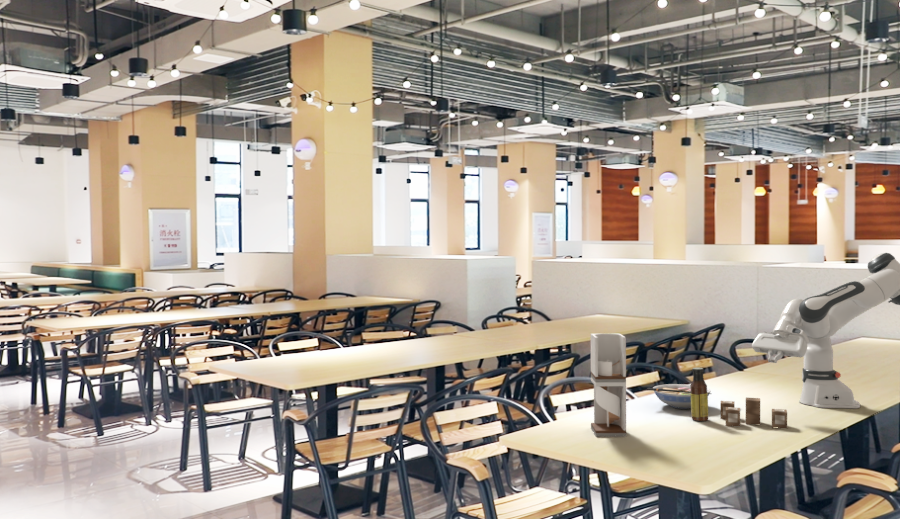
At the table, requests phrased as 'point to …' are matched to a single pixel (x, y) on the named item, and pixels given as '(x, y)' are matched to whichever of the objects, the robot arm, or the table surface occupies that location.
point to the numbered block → (779, 418)
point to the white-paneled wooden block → (732, 416)
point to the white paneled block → (723, 407)
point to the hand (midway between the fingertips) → (771, 361)
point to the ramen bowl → (675, 394)
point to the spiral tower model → (609, 383)
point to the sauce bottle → (699, 396)
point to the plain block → (752, 410)
